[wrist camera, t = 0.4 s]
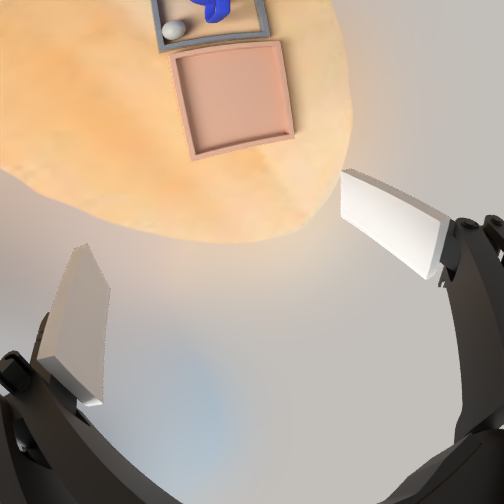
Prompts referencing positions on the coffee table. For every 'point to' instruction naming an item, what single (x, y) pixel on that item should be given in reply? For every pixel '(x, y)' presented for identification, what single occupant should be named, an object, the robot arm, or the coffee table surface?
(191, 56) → the terracotta dish
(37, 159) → the coffee table surface
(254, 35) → the slate bin
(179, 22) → the pebble
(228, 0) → the mug
